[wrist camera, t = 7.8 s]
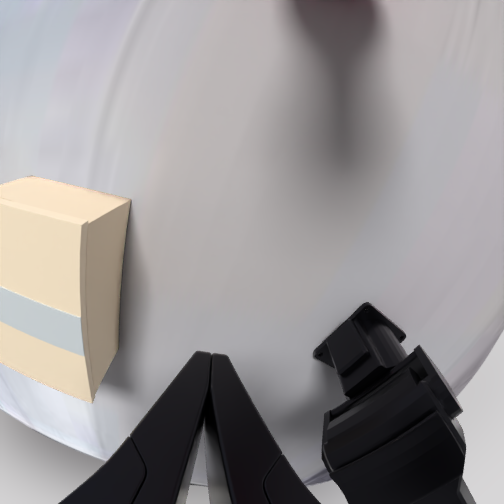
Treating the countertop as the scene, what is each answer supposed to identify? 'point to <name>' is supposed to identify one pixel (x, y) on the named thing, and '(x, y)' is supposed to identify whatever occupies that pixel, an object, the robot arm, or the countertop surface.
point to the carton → (88, 254)
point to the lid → (44, 298)
